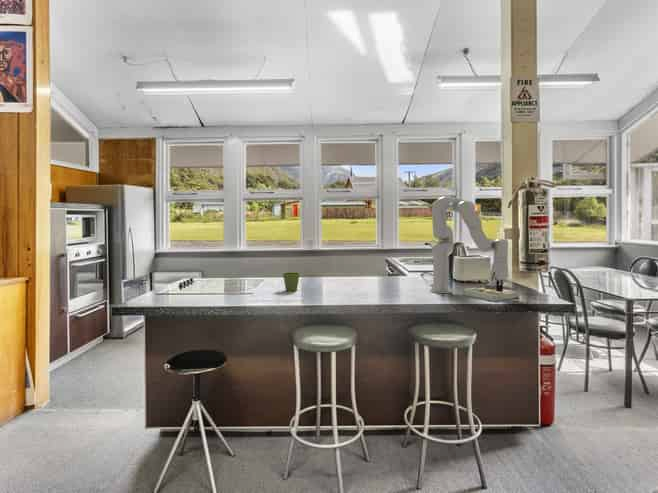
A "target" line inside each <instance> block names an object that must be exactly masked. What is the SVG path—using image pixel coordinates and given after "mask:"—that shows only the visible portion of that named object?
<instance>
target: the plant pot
mask: <svg viewBox="0 0 658 493" xmlns="http://www.w3.org/2000/svg"><path fill="white" fill-rule="evenodd" d="M300 275H301V273H300V272H290V271H289V272H283V273H282V276H283V281H284V286H285V287H284V288H285V291H286V292H294V291H295V292H296V291H298V288H299V287H298V284H299V279H300Z"/></svg>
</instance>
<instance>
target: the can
mask: <svg viewBox="0 0 658 493" xmlns="http://www.w3.org/2000/svg"><path fill="white" fill-rule="evenodd" d="M491 269H492V267H491V268H488V284H494V285H496V283H495V282H493V279H491Z"/></svg>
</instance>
